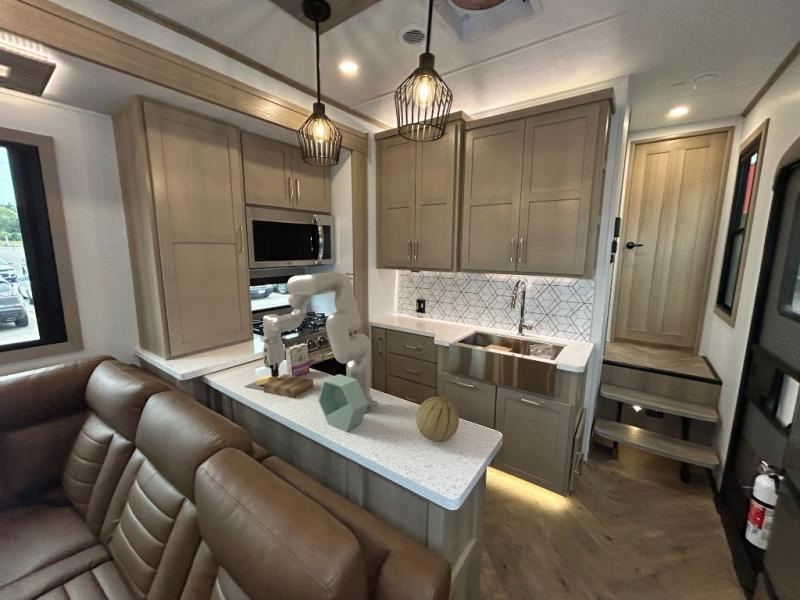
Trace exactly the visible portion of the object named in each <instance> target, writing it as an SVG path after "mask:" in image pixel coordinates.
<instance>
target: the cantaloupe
mask: <svg viewBox="0 0 800 600" xmlns="http://www.w3.org/2000/svg"><path fill="white" fill-rule="evenodd" d="M459 416H460V415H459V412H458V410H457V408H456V407H455V404H453V402H451V401H450V400H448V399H447V397H446V396H443V397H438V396H432V397H429V398H426V399H425V400H424V401H423V402H422V403H421V404H420V405H419V406H418V409H417V412H416V420H415V421H416V426H417V429H418V432H419V433H420V434H421V435H422V436H423V437H424V438H426V439H428V440H430V441H431V442H435V443H443V442H446V441H449V440H450V439H452V438H453V437H454V436H455V434H456V433H457V431H458V428H459V424H460V417H459Z"/></svg>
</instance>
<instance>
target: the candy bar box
mask: <svg viewBox="0 0 800 600" xmlns="http://www.w3.org/2000/svg"><path fill="white" fill-rule="evenodd" d="M285 360H286V372H287V375H292V376H298V377H303V376H305V375H308V374H310V357H309V344H307V343H300V344H295V345H290V346H288V347H285Z"/></svg>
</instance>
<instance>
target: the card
mask: <svg viewBox="0 0 800 600" xmlns="http://www.w3.org/2000/svg"><path fill="white" fill-rule="evenodd" d="M278 377H279V376H277V377H273V376H272V375H266V376H263V377H261V378H259V379H256V380H255V381H256V385H263V384H265V383H267V382H269V381H271V380H273V379H276V378H278Z"/></svg>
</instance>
